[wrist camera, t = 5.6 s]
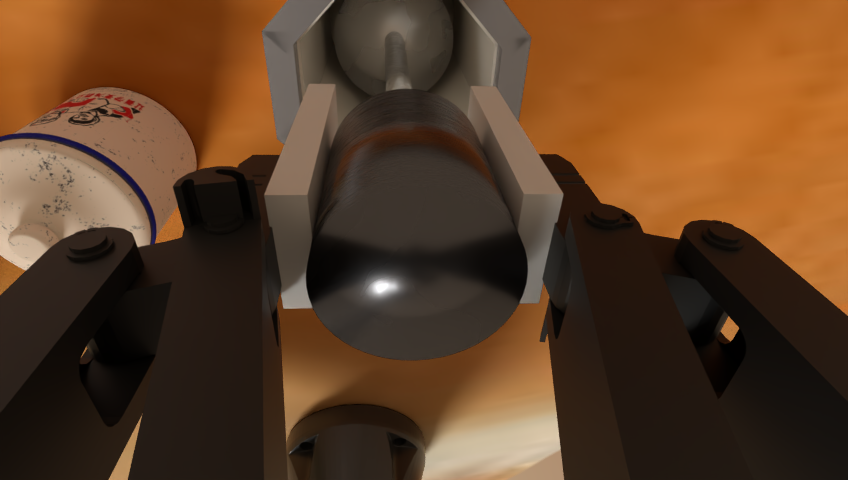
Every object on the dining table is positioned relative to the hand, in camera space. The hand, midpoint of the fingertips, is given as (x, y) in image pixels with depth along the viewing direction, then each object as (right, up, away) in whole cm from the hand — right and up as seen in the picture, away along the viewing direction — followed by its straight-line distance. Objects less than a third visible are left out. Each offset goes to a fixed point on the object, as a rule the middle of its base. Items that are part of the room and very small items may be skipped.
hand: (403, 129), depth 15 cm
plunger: (-1, +7, +10) cm, 13 cm away
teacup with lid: (-21, +3, +18) cm, 28 cm away
